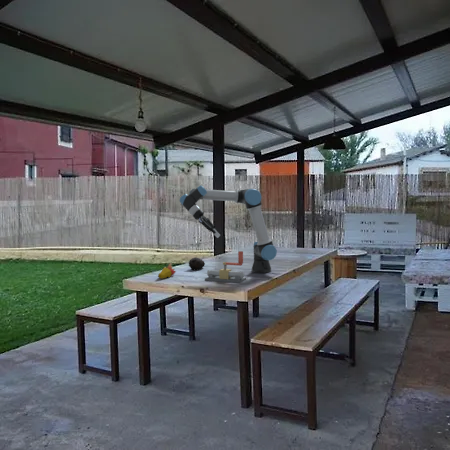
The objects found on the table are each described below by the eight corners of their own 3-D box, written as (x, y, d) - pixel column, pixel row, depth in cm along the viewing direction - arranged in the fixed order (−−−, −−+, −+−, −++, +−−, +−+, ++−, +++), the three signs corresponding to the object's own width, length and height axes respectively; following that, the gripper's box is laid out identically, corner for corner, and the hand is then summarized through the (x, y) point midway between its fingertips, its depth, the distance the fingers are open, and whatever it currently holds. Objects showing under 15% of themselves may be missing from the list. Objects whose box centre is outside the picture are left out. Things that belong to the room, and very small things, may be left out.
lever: (222, 264, 335) (221, 250, 335) (224, 264, 338) (224, 250, 338) (241, 265, 328) (241, 251, 328) (243, 265, 331) (243, 251, 330)
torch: (158, 285, 342) (170, 275, 366) (168, 280, 340) (179, 270, 364) (152, 275, 342) (164, 265, 366) (162, 270, 339) (173, 261, 363)
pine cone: (206, 267, 398) (206, 255, 397) (199, 271, 381) (199, 258, 380) (194, 267, 401) (194, 255, 400) (186, 270, 384) (186, 258, 383)
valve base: (212, 278, 347) (211, 263, 347) (246, 280, 337) (245, 264, 336) (204, 280, 336) (204, 265, 336) (239, 282, 326) (239, 267, 325)
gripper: (197, 215, 350) (219, 239, 344) (189, 216, 338) (211, 241, 332) (203, 208, 347) (226, 232, 342) (195, 209, 335) (218, 233, 330)
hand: (218, 236), depth 337 cm, fingers closed
